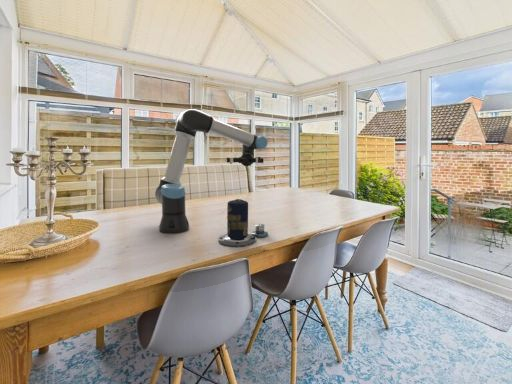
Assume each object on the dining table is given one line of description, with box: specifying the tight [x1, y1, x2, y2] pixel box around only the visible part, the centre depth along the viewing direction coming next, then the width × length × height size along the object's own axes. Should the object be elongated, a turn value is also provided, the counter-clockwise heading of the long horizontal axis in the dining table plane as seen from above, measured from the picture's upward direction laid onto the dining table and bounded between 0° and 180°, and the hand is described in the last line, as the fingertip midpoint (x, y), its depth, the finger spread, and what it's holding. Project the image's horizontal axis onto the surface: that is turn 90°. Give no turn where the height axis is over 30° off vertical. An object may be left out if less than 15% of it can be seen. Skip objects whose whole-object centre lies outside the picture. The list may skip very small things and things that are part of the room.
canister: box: [226, 198, 249, 239], centre depth 132 cm, size 10×10×18 cm
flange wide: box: [217, 233, 256, 248], centre depth 134 cm, size 17×17×2 cm
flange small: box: [251, 223, 269, 239], centre depth 143 cm, size 8×8×5 cm
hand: (243, 160), depth 152 cm, fingers open, 13 cm apart
